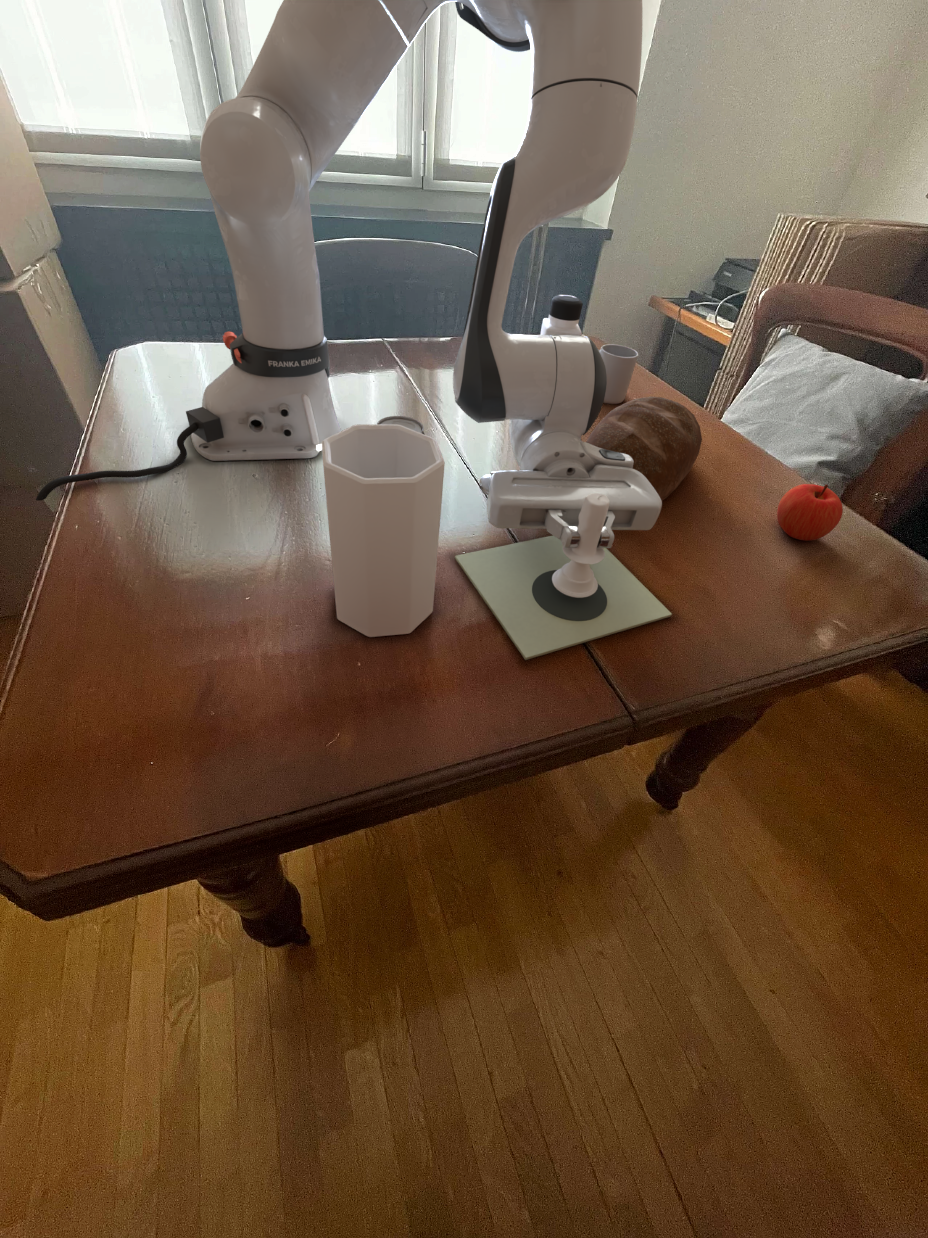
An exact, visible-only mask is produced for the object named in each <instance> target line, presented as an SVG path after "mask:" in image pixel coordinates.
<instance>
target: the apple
mask: <svg viewBox="0 0 928 1238" xmlns="http://www.w3.org/2000/svg"><path fill="white" fill-rule="evenodd" d="M828 487H829V484H824V486H822V485H819V484H813V483H802V484H798V485H795V486H793V487H792V488H790V489H788V491H786V493H784V494H783V496H782V497H781V498H780V501H779V502H778V505H777V509H776V510H777V511H776V518H777V522H778V524H779V527H780V528H781V529H782V530H783V532H785V534H786V535H788V536H789V537H790V538H793V539H796V540H799V541H804V542H805V541H806V542H808V541H816V540H819V539H821V538H823V537H825V536H827V535H828V534H830V533H831V532H832V531H833V530H834V529H835V528H836V527H837V526H838V524H839V523H840V521H841V520H842V517H843V514H844V513H843V512H844V508H843V503H842V501H841V499H840V497H839V496H838V495H837V493H835V492H834V491H833V490H831V489H830V488H828Z"/></svg>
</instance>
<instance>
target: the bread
mask: <svg viewBox="0 0 928 1238" xmlns="http://www.w3.org/2000/svg"><path fill="white" fill-rule="evenodd" d="M585 442H587V443H589V444H591V445H594V446H596V447H599V448H602V449H606V450H610V451H614V452H619V453H624V454H627V455H629V456H631V457H632V459H633V461H634V464H633V468H632V469H635V470H637V471H639V472H640V473H642V474H643V475H644V476H645V477H646V478H647V480H648V481H649V482H650V483H651V485H652V486H653V487H654V489H655V490H656V492H657V493H658V495H659V497H660V499H661V501H662V502H663V501H665V500H666V499H667V498H669V496H670V495H671V494H672V493H673V492H674V491H675V490H676V489H677V488H678V487H679V485H680V484H681V483H682V482H683V480H685V478H686V477H687V475H688V474H689V473H690V471H691V470H692V468H693V466H694V465H695V462H696V460H697V458H698V456H699V454H700V450H701V447H702V442H703V437H702V431H701V425H700V423H699V422H698V420H697V417H696V416H695V414H694V413H693V412H692V411H690V410H689V409H688V408H687V407H686V406H685V405H683V404H681V403H680V402H678V401H674V400H672V399H670V398H669V399H668V398H665V397H661V396H646V397H645V396H644V397H641V398H640V397H639V398H634V399H632V400H629V401H626V402H625V403H623V404H619V405H618V406H616V407H615V408H613V409H612V410H610V412H608V413H607V414H605V416H604V417H603V418H602V419H601V420H600V421H599V422H598V423H597V424H596V426H595V427H594V428H593V430H592V431H591V433H590V434H589V436H588V437H587V439H586V440H585Z"/></svg>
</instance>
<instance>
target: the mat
mask: <svg viewBox="0 0 928 1238" xmlns="http://www.w3.org/2000/svg"><path fill="white" fill-rule="evenodd" d="M603 549H604V551H605V557H604V559H603V560H602V561H600V562H599V563H596V564H589V565H590V568H591V569H592V571H593V573H594V577H595V579H596V580H597V583H598V588H597V590H596V592H595V593H594V594H592V595H590V596H588V597H583V598H576V597H571V596H568V595H565V594H563V593H561V592H560V591H559V590H557V589H556V587H555V586H554V585H553V582H552V576H553V574H554V573H555V572H556V571H557V570H558V569H561V568H562V567H563V566H564V565H565V564H567V563H569V562H570V561H571V559H569V558H568V557H567V556H566V555H565V554H564V552H563V545H562V542H561V540H560V539H558V538H556V537H555V536H553V535H548V536H544V537H539V538H534V539H530V540H525V541H519V542H515V543H511V544H510V543H509V544H505V545H501V546H496V547H490V548H485V549H480V550H475V551H471V552H466V553H462V554H457V555H455V556H454V559H455V561H456V562H457V564H458V565H459V566H460V568H461V569H462V571H463V572H464V574H465V575H466V576H467V578H468V579H469V581H470V583H471V584H472V585H473V586H474V588H475V589H476V591H477V592H478V594H479V595H480V597H481V598H482V600H483V601H484V603H485V604H486V605H487V607H488V609H489V610H490V611H491V613H492V614H493V615H494V617H495V619H496V620H497V621H498V623H499V625H500V626H501V627H502V629H503V630H504V632H505V633H506V635H507V636H508V637H509V639H510V640H511V642H512V643H513V644H514V646H515V648H516V649H517V651H518V652H519V654H520V655H521V656H522V658H523V659H524V661H528V660H530V659H531V660H532V659H534V658H537V657H541V656H544V655H547V654H551V653H553V652H554V653H555V652H556V651H560V650H561V651H562V650H565V649H567V648H571V647H575V646H577V645H580V644H584V643H587V642H590V641H594V640H597V639H600V638H604V637H606V636H610V635H613V634H617V633H620V632H624V631H627V630H630V629H633V628H638V627H641V626H643V625H647V624H650V623H654V622H657V621H660V620H664V619H667V618H671V617H672V615H673V613H672V612H671V611H670V610H669V609H668V608H667V607H666V606H665V605H664V604H663V603H662V602H661V601H660V600H659V599H658V598H656V596H655V595H654V594H653V593H652V592H651V591H649V589H648V588H647V587H645V585H643V583H642V582H641V581H640V580H638V578H637V577H636V576H635V575H634V574H633V573H632V572H631V571H630V570H629V569H628V568H627V567H626V566H625V565H624V564H622V562H621V561H620V560H618V559H617V557H616V556H615V555H613V553H612V552H611V551H610V550H609V548H603Z"/></svg>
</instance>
